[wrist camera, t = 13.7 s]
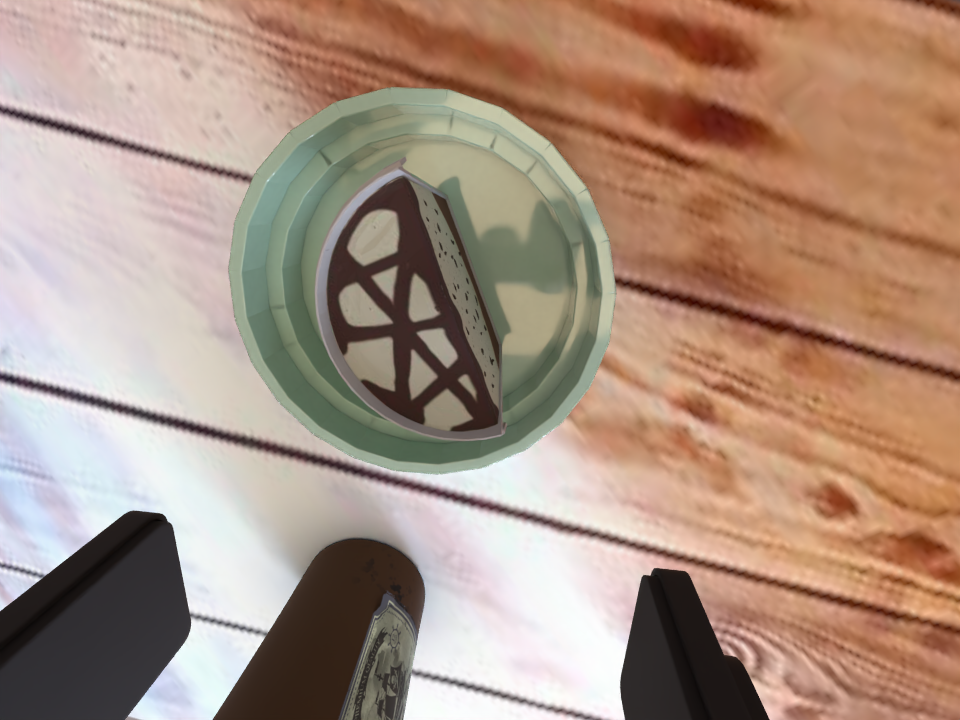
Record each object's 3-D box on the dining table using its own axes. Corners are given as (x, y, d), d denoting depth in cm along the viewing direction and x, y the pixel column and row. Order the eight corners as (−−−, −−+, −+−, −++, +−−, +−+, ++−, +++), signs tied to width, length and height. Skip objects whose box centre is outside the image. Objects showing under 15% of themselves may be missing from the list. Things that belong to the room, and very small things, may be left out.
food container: (339, 208, 27) (244, 213, 18) (437, 168, 26) (392, 151, 17) (420, 395, 31) (376, 483, 21) (510, 367, 30) (506, 446, 20)
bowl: (618, 116, 25) (644, 95, 20) (577, 439, 31) (588, 487, 26) (265, 103, 26) (203, 79, 21) (294, 417, 33) (252, 459, 27)
